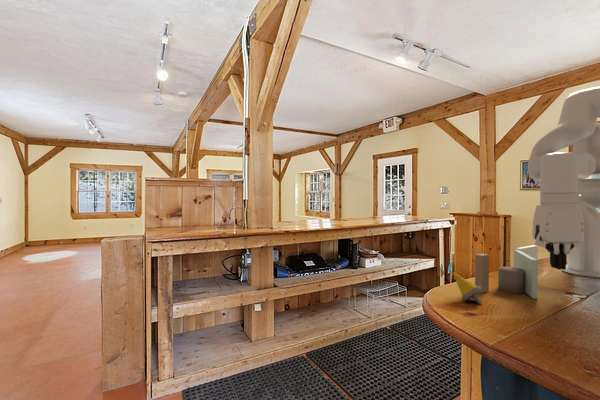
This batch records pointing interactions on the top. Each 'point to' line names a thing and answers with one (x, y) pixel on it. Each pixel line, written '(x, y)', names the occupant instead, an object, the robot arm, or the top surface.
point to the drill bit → (467, 288)
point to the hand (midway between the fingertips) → (558, 268)
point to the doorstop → (511, 280)
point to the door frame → (483, 266)
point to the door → (528, 272)
